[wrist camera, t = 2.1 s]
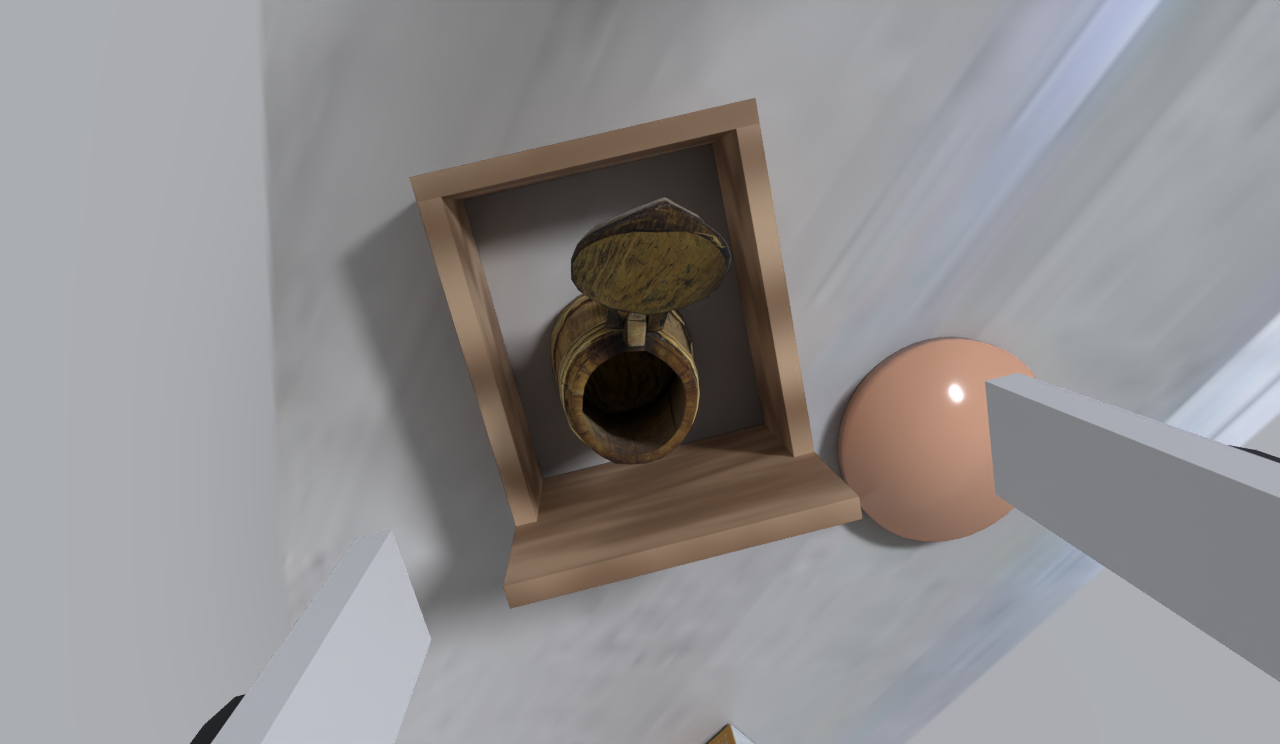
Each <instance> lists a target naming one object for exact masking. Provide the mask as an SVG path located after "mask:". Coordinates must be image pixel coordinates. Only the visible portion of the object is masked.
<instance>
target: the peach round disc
mask: <svg viewBox="0 0 1280 744" xmlns="http://www.w3.org/2000/svg"><path fill="white" fill-rule="evenodd" d="M1015 373H1021V374H1023V375H1026V376H1029V377H1032V378H1035V379H1036V377H1035V376H1034V374H1033V373H1032V372H1031V371H1030V370H1029V369H1028V367H1027V366H1026V365H1025V364H1024V363H1022V362H1021V361H1020V360H1019V359H1018V358H1016V357H1015V356H1013V355H1012V354H1010V353H1008V352H1007V351H1005V350H1003V349H1000V348H998V347H995V346H993V345H989V344H986V343H983V342H980V341H976V340H972V339H967V338H960V337H939V338H933V339H928V340H924V341H921V342H917V343H914V344H912V345H909V346H907V347H905V348H903V349H900V350H899V351H897V352H895V353H894V354H892V355H890V356H889V357H887V358H886V359H885V360H883V361H882V362H881V363H880V364H878V365H877V366H876V367H875V368H874V369H873V370H872V371H871V372H870V373H869V374H868V375H867V376H866V377H865V378H864V380H863V381H862V382H861V383H860V385H859V386H858V387H857V389H856V390H855V392H854V394H853V395H852V397H851V399H850V401H849V403H848V405H847V407H846V409H845V412H844V415H843V418H842V421H841V424H840V429H839V435H838V449H837V451H838V462H839V467H840V471H841V475H842V478H843V480H844V482H845V483H846V484H847V485H848V486H849V487H850V488H851V489H852V490H853V491H854V492H855V493H856V494H857V495H858V496H859V498H860V505H861V508H862V509H863V510H864V511H865V512H866V513H867V514H868V515H869V516H870V517H871V518H872V519H873V520H874V521H875V522H876V523H878V524H879V525H881V526H882V527H884V528H885V529H886V530H888V531H890V532H892V533H894V534H896V535H899V536H902V537H905V538H908V539H912V540H918V541H928V542H939V541H949V540H954V539H959V538H962V537H965V536H969V535H972V534H974V533H976V532H978V531H981V530H983V529H985V528H987V527H988V526H990V525H992V524H993V523H995V522H997V521H998V520H999V519H1001V518H1002V517H1003V516H1005V515H1006V514H1007V513H1008V512H1009V511H1011V510H1012V509H1013V508H1014V506H1012V505H1011V504H1009V503H1008V502H1006V501H1005V500H1003V499H1002V498H1000V497H999V496H997V495H996V494H995V485H994V474H993V463H992V453H991V442H990V431H989V421H988V410H987V399H986V389H985V381H987V380H991V379H995V378H999V377H1003V376H1007V375H1011V374H1015Z"/></svg>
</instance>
